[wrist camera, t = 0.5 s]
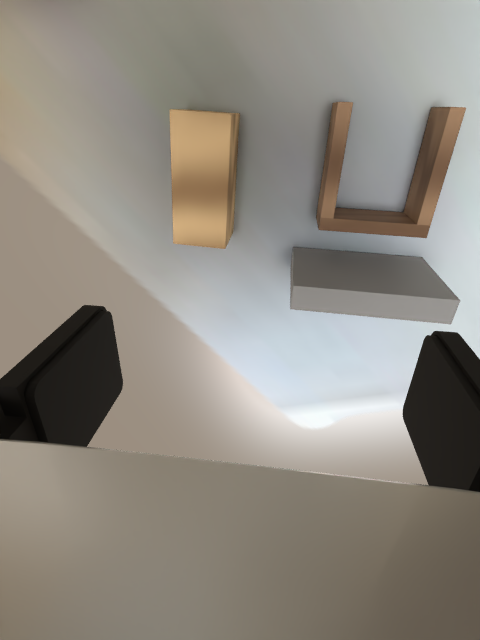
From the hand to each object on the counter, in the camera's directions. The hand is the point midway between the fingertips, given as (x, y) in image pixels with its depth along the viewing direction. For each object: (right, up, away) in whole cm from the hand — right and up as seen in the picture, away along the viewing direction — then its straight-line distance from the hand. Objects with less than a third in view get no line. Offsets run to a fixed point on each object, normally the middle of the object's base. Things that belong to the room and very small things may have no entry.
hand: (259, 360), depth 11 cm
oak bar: (-3, +14, +22) cm, 26 cm away
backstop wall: (+10, +7, +24) cm, 27 cm away
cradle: (+11, +15, +20) cm, 27 cm away
